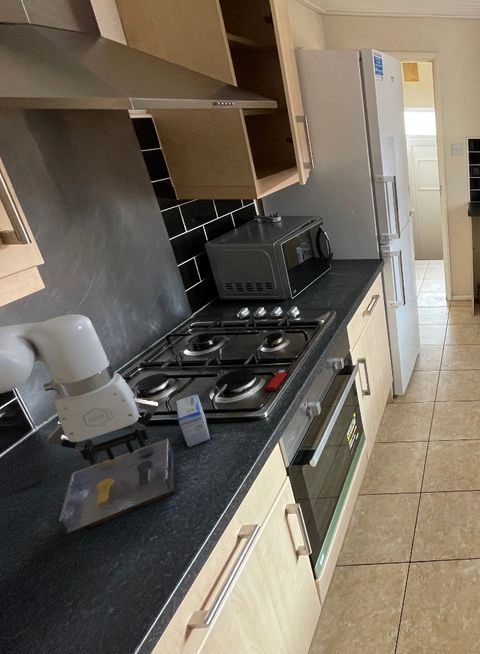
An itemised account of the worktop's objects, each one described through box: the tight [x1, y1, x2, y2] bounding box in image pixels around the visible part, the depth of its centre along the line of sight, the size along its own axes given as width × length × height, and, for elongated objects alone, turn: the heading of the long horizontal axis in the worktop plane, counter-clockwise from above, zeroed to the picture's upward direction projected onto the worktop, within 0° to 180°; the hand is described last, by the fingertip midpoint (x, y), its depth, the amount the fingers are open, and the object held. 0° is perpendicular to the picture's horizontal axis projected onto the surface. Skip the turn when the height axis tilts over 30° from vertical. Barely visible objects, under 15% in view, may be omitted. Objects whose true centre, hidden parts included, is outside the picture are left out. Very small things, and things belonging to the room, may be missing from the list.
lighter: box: [264, 369, 289, 392], centre depth 119 cm, size 3×1×8 cm
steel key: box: [137, 461, 153, 485], centre depth 84 cm, size 2×6×1 cm, turn 37°
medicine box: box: [175, 394, 211, 448], centre depth 99 cm, size 8×4×9 cm, turn 40°
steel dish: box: [58, 431, 174, 535], centre depth 80 cm, size 15×13×8 cm
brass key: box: [97, 478, 114, 505], centre depth 80 cm, size 2×6×1 cm, turn 37°
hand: (119, 450), depth 84 cm, fingers open, 6 cm apart
